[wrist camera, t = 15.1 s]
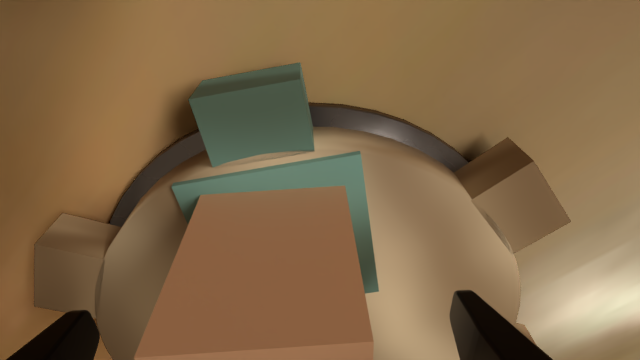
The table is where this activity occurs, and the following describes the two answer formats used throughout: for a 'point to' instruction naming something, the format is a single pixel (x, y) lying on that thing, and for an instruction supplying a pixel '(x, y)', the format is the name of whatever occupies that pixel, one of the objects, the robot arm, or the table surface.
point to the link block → (264, 282)
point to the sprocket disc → (308, 172)
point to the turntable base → (320, 118)
